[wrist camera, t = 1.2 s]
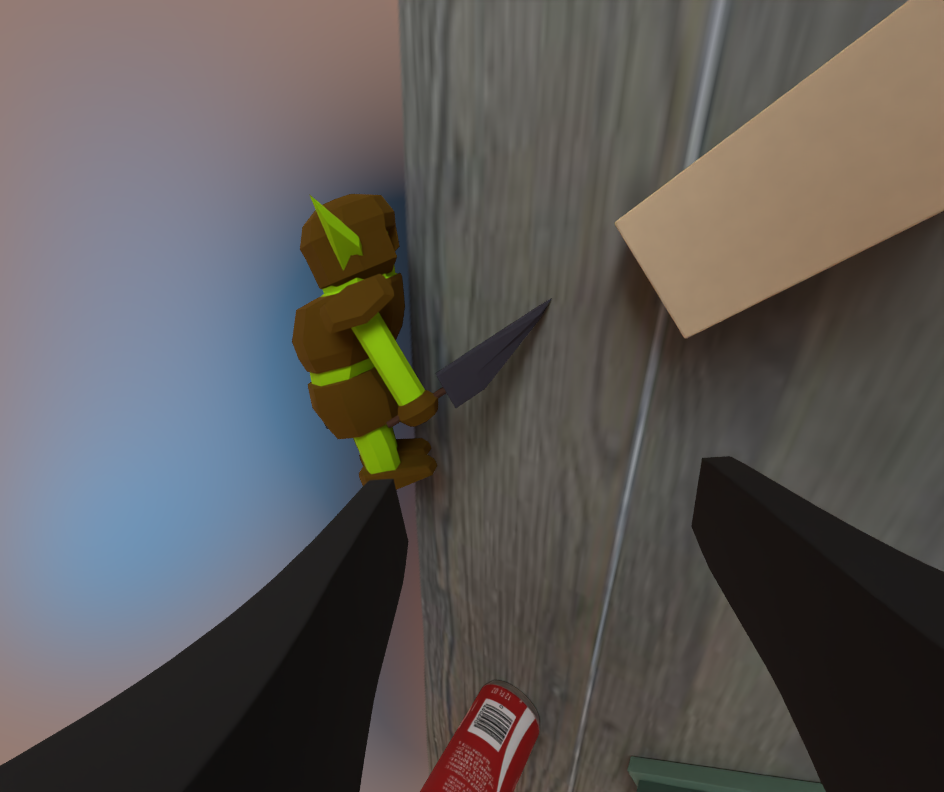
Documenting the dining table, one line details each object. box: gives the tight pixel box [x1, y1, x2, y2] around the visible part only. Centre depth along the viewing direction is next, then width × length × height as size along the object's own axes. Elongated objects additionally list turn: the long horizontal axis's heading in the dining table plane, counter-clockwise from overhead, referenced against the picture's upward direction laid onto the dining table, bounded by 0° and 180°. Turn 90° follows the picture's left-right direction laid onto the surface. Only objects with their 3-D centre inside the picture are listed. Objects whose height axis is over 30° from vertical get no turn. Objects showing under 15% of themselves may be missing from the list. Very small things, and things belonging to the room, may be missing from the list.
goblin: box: [292, 194, 552, 490], centre depth 24 cm, size 10×14×15 cm
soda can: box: [420, 680, 540, 792], centre depth 30 cm, size 5×5×12 cm
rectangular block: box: [615, 0, 944, 339], centre depth 14 cm, size 9×5×3 cm, turn 128°
